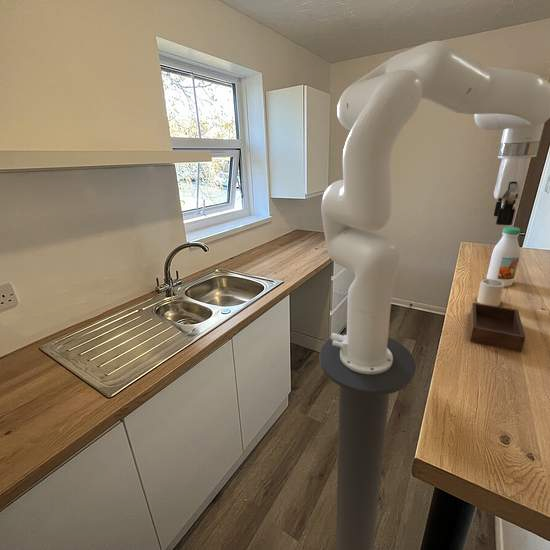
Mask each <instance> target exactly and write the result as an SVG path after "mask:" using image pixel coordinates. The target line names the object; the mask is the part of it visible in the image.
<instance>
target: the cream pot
mask: <svg viewBox="0 0 550 550" xmlns="http://www.w3.org/2000/svg"><path fill="white" fill-rule="evenodd" d="M504 289H505V286H504V283H503V282H501V281H499V280H495V279H486V278H483V279H481V281H480V283H479V288H478V293H477V297H476V303H479V304H486V305H492V306H498V307H500V305H501V300H502V296H503V293H504Z"/></svg>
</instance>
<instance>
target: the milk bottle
mask: <svg viewBox="0 0 550 550" xmlns="http://www.w3.org/2000/svg"><path fill="white" fill-rule="evenodd" d="M520 234H521V228H520V227H514V226H505V227H503V230H502V236H501V238H500V240H499V241H498V242H497V243H496V244H495V246H494V248H493V250H492V253H491V256H490V261H489V266H488V269H487V275H486V278H485V279H495V280H499V281H501V282H503V283H504V287H510V286H512V285H513V283H514V280H515V275H516V271H517V268H518V264H519V260H520V256H521V248H520V244H519V236H520Z"/></svg>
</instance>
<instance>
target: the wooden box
mask: <svg viewBox="0 0 550 550" xmlns="http://www.w3.org/2000/svg"><path fill="white" fill-rule="evenodd" d="M471 304H472V305H471V308H470V309H471V310H470V313H469V342H470V343H471V342H473V343H476V344H481V345H485V346H490V347H495V348H500V349H503V350H504V349H505V350H509V351H514V352H517V353H522V350H523V347H524V345H525V340H526V334H525V331H524V327H523V323H522V320H521V316H520V313H519V309H516V308H509V307H505V306H504V307H503V306H492V305H486V304H480V303H478V302H472V303H471Z"/></svg>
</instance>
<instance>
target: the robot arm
mask: <svg viewBox="0 0 550 550" xmlns="http://www.w3.org/2000/svg"><path fill="white" fill-rule="evenodd" d="M421 99H424V100H427V101H429V102H431V103H434V104H436V105H438V106H440V107H443V108H444V109H446V110H448V111H451V112H452V113H455V114H465V115H474V123H475V124H476V126H477V127H478V128H479V129H481V130H484V131H500V130H502V135H501V139H500V144H499V150H498V154H497V159H501V163H500V165H499V168H498V173H497V178H496V182H495V186H494V190H493V197H494V199H495V200H497V201H496V202H495V206H494V210H493V211H494V212H493V217H496V222H495V224H496V225H498V226H511V225H513V221H514V217H515V213H516V206H517V200H519V199H520V198H521V195H522V191H523V189H524V185H525V182H526V178H527V177H526V176H527V174H528V173H527V172H528V169H529V164H530V159H531V158H536V157H537V156H538V155H537V154H538V151H539V148H540V147H539V146H540V143H541V139H542V135H543V130H544V127H545V123H546V122H547V121H548V120H549V119H550V82H549V81H548V80H546V79H545V78H543V76H541V75H538V74H536V73H532V72H530V71H524V70H518V69H509V68H503V67H496V66H486V65H484V64H482V63H480V62H479V61H478V60H476V59H474V58H473V57H471V56H470V55H468V54H466V53H465V52H464V51H462V50H460V49H458V48H457V47H456V46H454V45H452V44H450V43H449V42H446V41H444V40H432V41H428V42H425V43H422V44H420V45H418V46H415V47H412V48H411V49H407V50H405V51H403V52H400V53H398V54H396V55H393V56H392V57H390V58H389V59H387V60H385V61H384V62H382V63H381V64H380V65H378V66H377V67H375V68H374V69H373V70H371V71H369V72H368V73H367V74H365V75H364V76H361V78H359V79H358V80H356V81H354V82H353V83H352V84H350V85H349V86H348V87H346V89H345V90H344V91H343V92H342V94H341V95H340V97H339V100H338V103H337V109H336V112H337V119H338V121H339V123H340V125H341V126H342V127H343V128H344V129H346V130H348V131H350V132H349V134H348V135H347V137H346V141H345V143H344V148H343V151H342V179H339V180H336V181H334V182H332V183H331V184H330V185H329V186H328V187H327V188H326V189H325V191H324V193H323V196H322V200H321V206H320V208H321V210H320V211H321V219H322V225H323V226H322V227H323V233H324V241H325V247H326V250H327V254H328V256H329V258H330V259H331V260H332V261H333V262H334V263H335V264H337V265H338V266H339V267H340V266H341V267H342V268H344V269H346V270H348V271H349V272H351V273H353V274H354V278H353V281H352V283H351V284H350V285H349V288H348V291H347V299H346V300H347V309H346V313H347V314H346V332H347V335H344V336H342V335H339V334H340V333H336V332H332V333H331V335H330V338H331V340H333V342H332V345H333V346H338V347H341V349H340V359H341V361H342V362H343V364H344V365H345V366H347V367H348V368H349V369H351V370H353V371H355V372H358V373H362V374H379V373H383V372H385V371H387V370H388V369H389V368H390V367H391V366H392V363H393V355H392V353H391V352H390V350H389V349H388V348H387V342H388V337H389V331H390V320H391V319H390V318H391V309H392V298H393V289H394V284H395V280H396V277H397V273H398V270H399V268H400V264H401V259H402V258H401V255H402V254H401V251H400V248H399V246H398V245H397V244H396V242H395V241H394V240H392V239H391V238H388V237H387V236H384V235H382V234H379V233H375V232H377V231H378V230H381V229H383V228H384V227H386V226H387V224H388V222H390V221H389V220H390V218H391V214H392V189H391V188H392V185H391V155H392V150H393V147H394V144H395V142H396V140H397V138H398V136H399V135H400V133H401V131H402V130H403V128H404V127H405V126H406V125H407V123H409V121H410V119H411V118H412V117H413V116H414V114H415V113H416V112H417V111H418V108H419V105H420V103H421V101H422V100H421Z"/></svg>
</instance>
